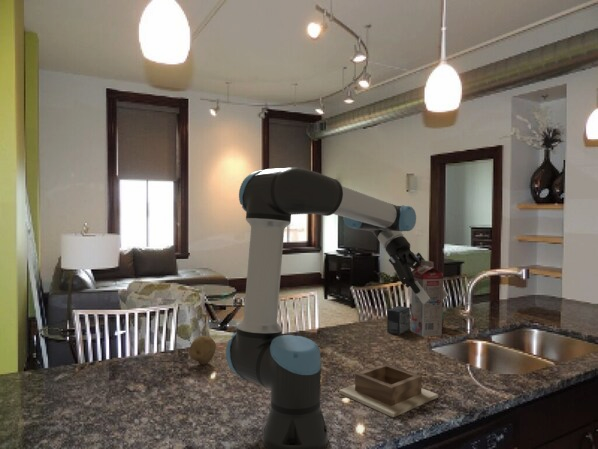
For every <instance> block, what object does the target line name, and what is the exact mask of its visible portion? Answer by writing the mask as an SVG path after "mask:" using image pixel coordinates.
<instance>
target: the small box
mask: <svg viewBox="0 0 598 449" xmlns="http://www.w3.org/2000/svg"><path fill="white" fill-rule="evenodd" d="M410 309H411V308H410V307H409V306H400V305H398V306H394V307H392V308H389V309H386V317H387V318H386V320H387V321H386V324H387V326H386V327H387V328H386V330H387V331H386V333H387V334H392V335H398V336H400V335H403V334H406V333H407V332H409V331H411V310H410Z"/></svg>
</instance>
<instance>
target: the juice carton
mask: <svg viewBox="0 0 598 449" xmlns="http://www.w3.org/2000/svg"><path fill="white" fill-rule="evenodd" d="M434 265H435V264H434V261H430V260H426V259H424V260H421V265H420V266H419V267H417V268H415V269H412V270H411V271H412V274H413V277H414V280H415V281H418V282H419V284H420V285H421V286H422V288H423V289H424V291H425V292H426V293H427V295H428V296H429V297H430V299H429V300H428V301H427V302H426V303H425V304H423V303H422V302H421V301H420V299H419V298H418V296H417V295H416V294H415V293H414V291H413V290H412V289H411V299H410V300H411V301H410V302H411V308H410V309H411V310H410V331H411V332H412V333H415V334H417V335H419V336H420V337H432V336H433V337H436V336H437V337H438V336H443V328H442V309H443V307H444V306H443V301H444V300H443V288H444V273H443V272H442V271H441V270H439V269H438V268H435V266H434ZM415 281H414V282H415Z"/></svg>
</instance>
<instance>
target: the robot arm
mask: <svg viewBox="0 0 598 449" xmlns="http://www.w3.org/2000/svg"><path fill="white" fill-rule="evenodd" d="M238 191H239V192H238V200H239V204H240V205H241V208H242V210H244V211H245V214H246V215H245V221H246V222H247V224H249V226H250V236H249V237H250V238H249V246H248V247H249V248H248V261H247V270H246V271H247V274H246V275H247V276H246V284H245V285H246V286H245V287H246V288H245V297H244V310H243V319H242V321H241V322H238V324H237V325H236V331H235V332H234V333H233V334H232V335H231V338H230V339H228V341H227V344H226V349H225V358H226V363H227V366H228V367H229V369H230V370H231V372H233V373H234V374H235V375H237V376H239V377H240V378H241V379H243V380H245V381H248V382H249V381H250V382H252V383H255V384H257V385H259V386H262V387H263V388H266V389H269V390H270V408H269V412H268V416H267V419H266V423H265V426H264V428H263V430H262V431H263V432H262V436H263V437H262V438H263V439H262V441H263V445H264V447H265V449H325V448H326V447H327V444H328V441H329V439H328V436H329V432H328V428H327V424H326V420H325V418H324V415H323V413H322V409H321V389H322V388H321V387H322V384H321V383H322V382H321V381H322V378H321V377H322V376H321V375H322V360H321V351H320V348H319V346H318V344H317V343H316V342H315V341H314V340H311V339H310V338H308V337H305V336H301V335H294V334H283V327H282V326H281V325H280V324H279V323H278V311H279V302H280V301H279V300H280V289H281V288H280V286H281V275H282V274H281V273H282V259H283V249H284V236H285V229H286V228H287V227H288V226H289V225H290V224H291V221H292V215H293V216H294V215H311V214H312V215H321V216H325V217H327V216H332V215H335V216H339V217H343V222H344V225H345V226H347V228H350V229H353V230H361V231H367V232H371V233H373V235H374V236H375V237H376V239H377V240H378V241H379V243H380V244H381V246H382V248H384V249H385V252H386V254H387V255H388V256H389V257H390V258H389V259H388V262H389V263H390V264H391V265H392V267H393V268H394V271H395V273H396V275H397V276H398V278H399V280H400V282H401V284H402V285H404V286H405V287H406V288H409V287H410V288H411V291H412V290H413V291H414V293H415V294H416V295H417V296H418V298H419V299H420V301H421V302H422V303H423V304H425V303H426V302H427V301H428V300H429V299H430V297H429V296H428V295H427V293H426V292H425V291H424V289H423V288H422V286H421V285H420V284H419V282H418V281H415V280H414V277H413V274H412V271H413V270H414V269H415V268H417V267H419V266H420V265H421V260H425V259H424V258H425V257H423V256H422V254H421V253H420V252H417V253H416V254H415V253H414V252H412V250H411V243H410V242H409V241H408V239H407V238H406V237H405V236H404V234H403V233H402V232H410V231H412V230H413V229H414V228H415V226H416V223H417V215H416V211H415V209H414V208H413V207H412V206H410V205H405V204H404V205H396V204H393V203H390V202H387V201H384V200H381V199H379V198H375V197H373V196H370V195H367V194H365V193H362V192H359V191H358V190H354V189H351V188H349V187H346V186H343V184H342V183H341V182H340V181H339V180H338V179H335V178H334V177H330V176H327V175H325V174H323V173H319V172H317V171H313V170H310V169H307V168H302V167H297V166H293V167H284V168H283V167H282V168H281V167H280V168H267V169H266V168H265V169H260V170H257V171H256V170H255V171H253V172H252V173H250V174H248V175H247V176H246V177H244V179H243V181H242V182H241V184H240V187H239V190H238ZM414 281H415V282H414ZM448 296H449V294H448V292H447V291H446V288H444V287H443V301H444V300H445V299H447V297H448Z"/></svg>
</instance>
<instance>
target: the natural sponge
mask: <svg viewBox="0 0 598 449" xmlns="http://www.w3.org/2000/svg"><path fill="white" fill-rule="evenodd" d="M216 349H217V344H216V342H215V340H214V339H213V338H212V337H210V336H207V335H200V336H198V337H196V338H195V339H194V340H193V341H192V342H191V343H190V347H189V350H188V355H189V357H190V358H191V359H192V360H193V361H196V362H198V363H199V364H201V365H207V364H208V363H209V362H210V361H211V360H212V359H213V357H214V356H215V352H216Z"/></svg>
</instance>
